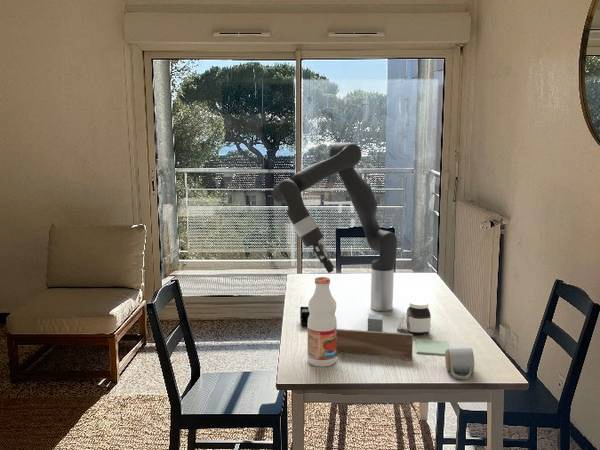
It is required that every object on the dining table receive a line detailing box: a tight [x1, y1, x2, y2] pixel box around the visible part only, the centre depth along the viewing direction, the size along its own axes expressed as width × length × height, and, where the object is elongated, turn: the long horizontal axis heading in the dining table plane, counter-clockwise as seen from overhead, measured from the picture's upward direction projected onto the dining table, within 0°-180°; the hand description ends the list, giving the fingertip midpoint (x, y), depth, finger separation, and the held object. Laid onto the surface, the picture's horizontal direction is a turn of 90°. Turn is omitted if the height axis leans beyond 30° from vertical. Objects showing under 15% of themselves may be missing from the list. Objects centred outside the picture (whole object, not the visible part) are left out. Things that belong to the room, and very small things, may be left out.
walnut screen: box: [336, 328, 414, 361], centre depth 195 cm, size 5×26×8 cm, turn 79°
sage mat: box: [416, 338, 450, 356], centre depth 202 cm, size 12×11×1 cm
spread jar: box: [396, 299, 432, 336], centre depth 216 cm, size 12×11×12 cm
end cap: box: [299, 306, 310, 328], centre depth 225 cm, size 10×7×7 cm
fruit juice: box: [307, 276, 338, 367], centre depth 188 cm, size 9×9×28 cm
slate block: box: [367, 313, 384, 332], centre depth 205 cm, size 5×5×10 cm
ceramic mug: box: [444, 347, 475, 381], centre depth 181 cm, size 11×8×8 cm
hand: (331, 270), depth 206 cm, fingers open, 8 cm apart
